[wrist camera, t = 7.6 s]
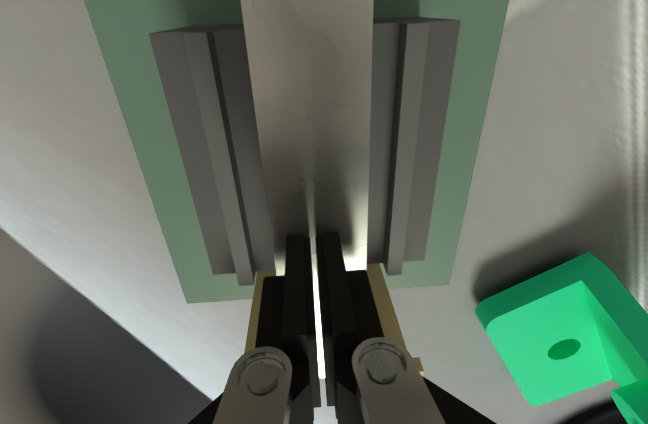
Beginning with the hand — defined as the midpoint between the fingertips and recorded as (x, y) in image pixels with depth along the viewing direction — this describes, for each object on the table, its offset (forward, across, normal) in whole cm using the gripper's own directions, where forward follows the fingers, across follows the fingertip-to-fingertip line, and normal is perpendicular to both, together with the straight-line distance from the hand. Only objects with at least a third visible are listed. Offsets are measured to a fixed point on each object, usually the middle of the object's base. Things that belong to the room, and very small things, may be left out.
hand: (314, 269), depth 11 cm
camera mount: (+8, -16, +13) cm, 22 cm away
